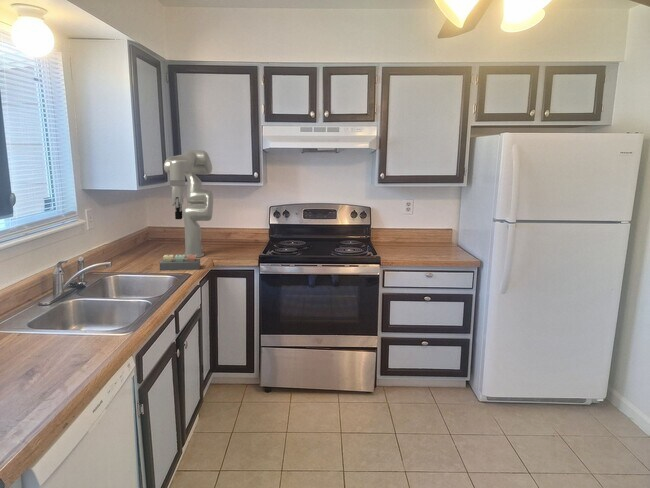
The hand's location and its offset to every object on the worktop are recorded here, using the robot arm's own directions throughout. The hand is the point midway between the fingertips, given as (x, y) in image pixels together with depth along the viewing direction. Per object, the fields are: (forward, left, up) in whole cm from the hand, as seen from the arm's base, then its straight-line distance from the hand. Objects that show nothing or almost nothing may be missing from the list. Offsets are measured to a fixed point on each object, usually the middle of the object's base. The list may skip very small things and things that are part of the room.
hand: (178, 218), depth 226 cm
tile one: (+2, -6, -25) cm, 26 cm away
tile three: (-2, +6, -25) cm, 26 cm away
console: (0, 0, -27) cm, 27 cm away
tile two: (0, 0, -25) cm, 25 cm away
